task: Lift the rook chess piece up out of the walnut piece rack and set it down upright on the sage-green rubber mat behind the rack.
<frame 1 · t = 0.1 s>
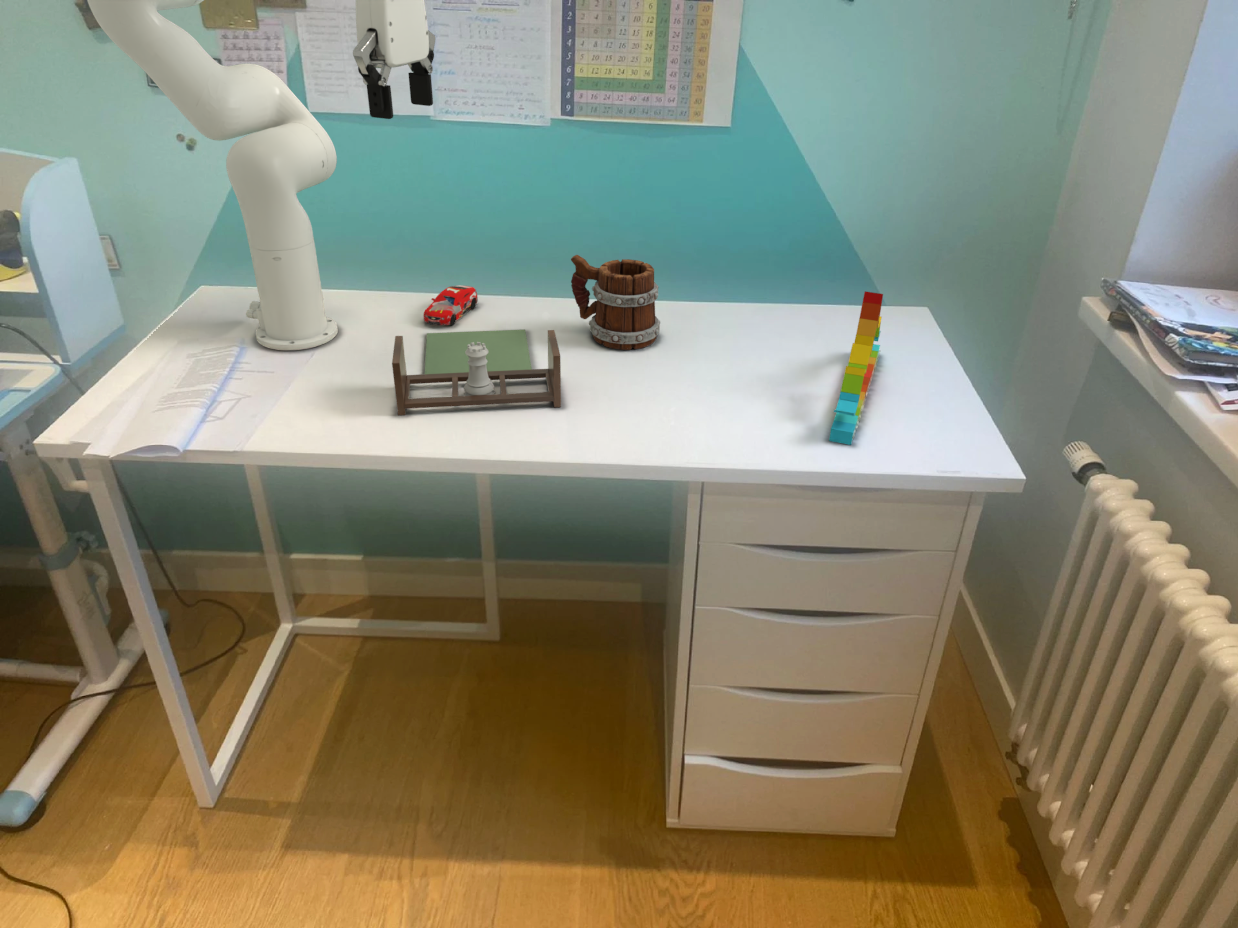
hand: (402, 111, 122), 37 cm above the table, tool pointing down, fingers open, 9 cm apart
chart: (856, 396, 136), on the table
race car: (451, 315, 158), on the table
mug: (615, 337, 152), on the table
rook chess piece: (479, 397, 132), resting in rack
rack: (479, 396, 132), on the table
mat: (477, 354, 144), on the table
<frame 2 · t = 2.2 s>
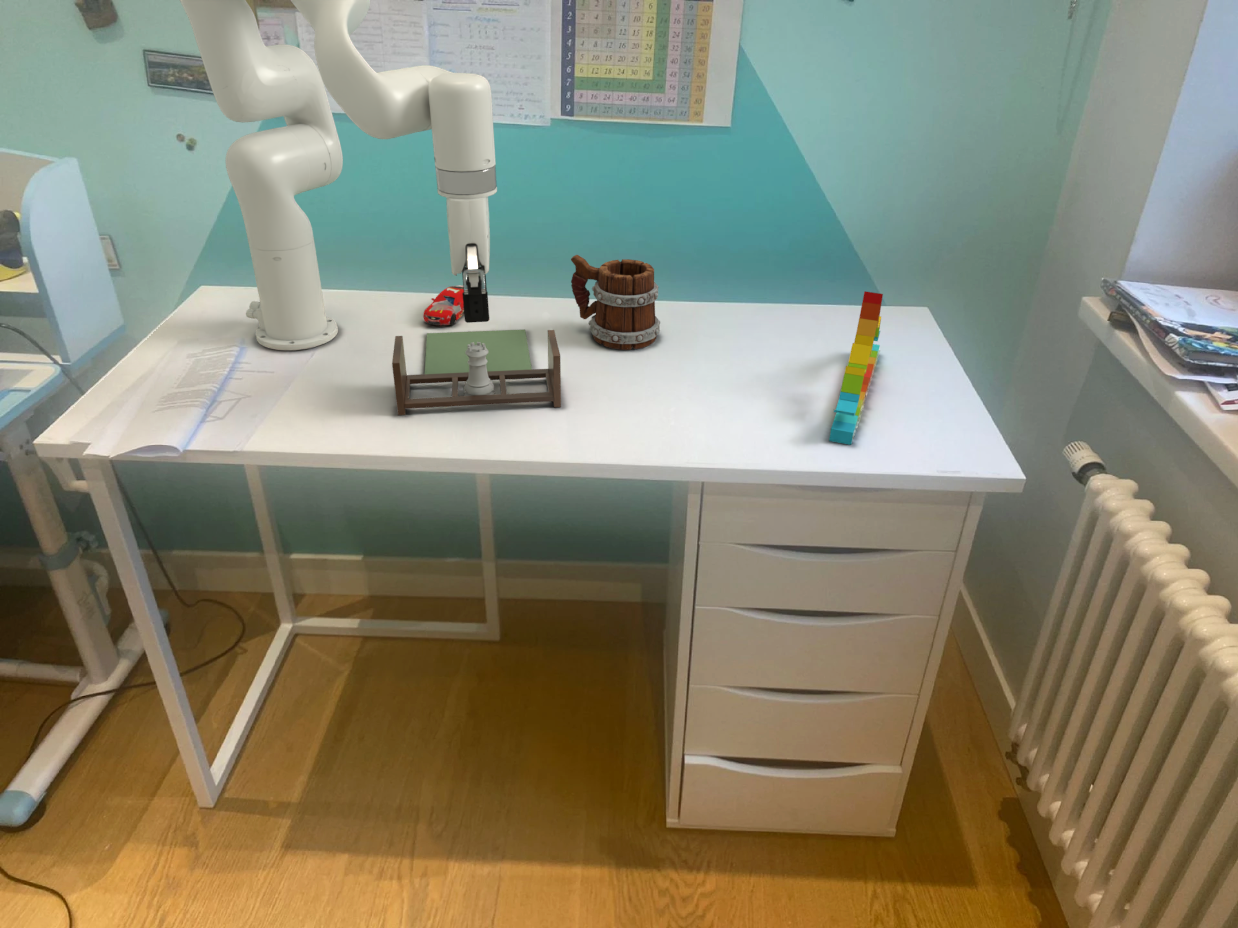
hand: (476, 307, 125), 14 cm above the table, tool pointing down, fingers open, 9 cm apart
nothing on the table moved.
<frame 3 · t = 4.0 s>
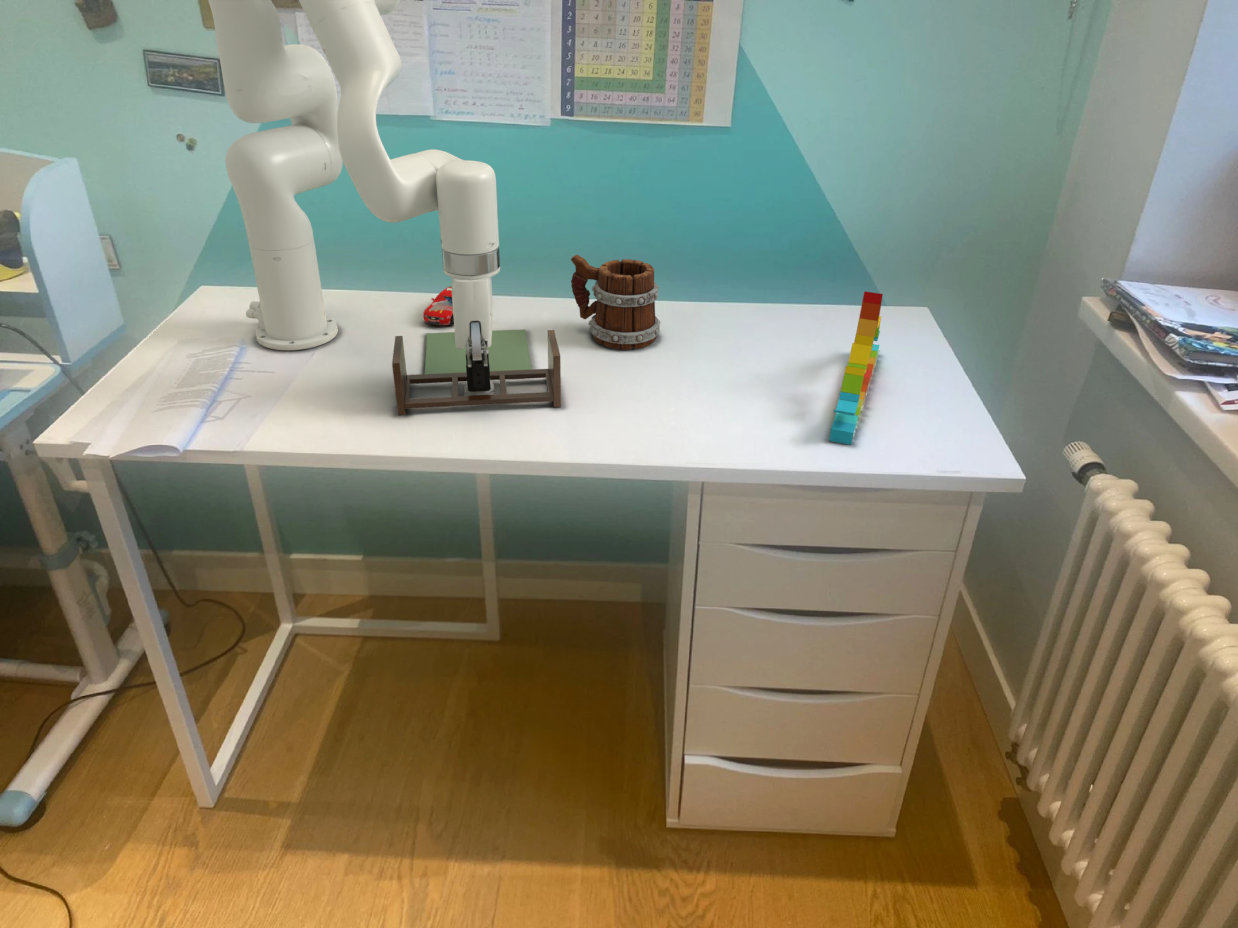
hand: (478, 382, 131), 2 cm above the table, tool pointing down, fingers closed on rook chess piece, 3 cm apart
rook chess piece: (479, 397, 132), resting in rack, touching gripper
everything else where it was.
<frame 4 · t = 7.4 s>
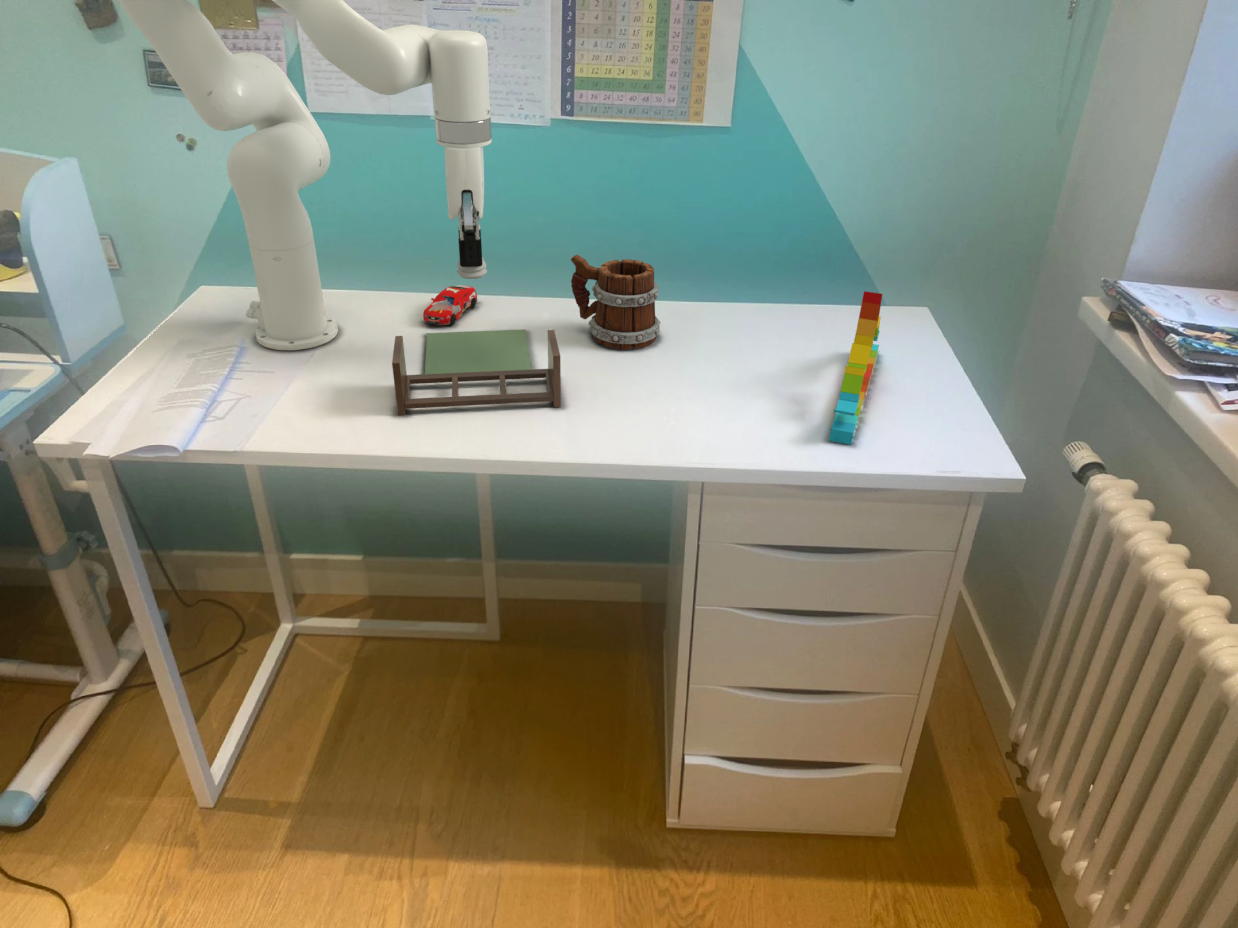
hand: (471, 260, 135), 16 cm above the table, tool pointing down, fingers closed on rook chess piece, 3 cm apart
rook chess piece: (472, 275, 136), point 13 cm above the table, touching gripper
everything else where it was.
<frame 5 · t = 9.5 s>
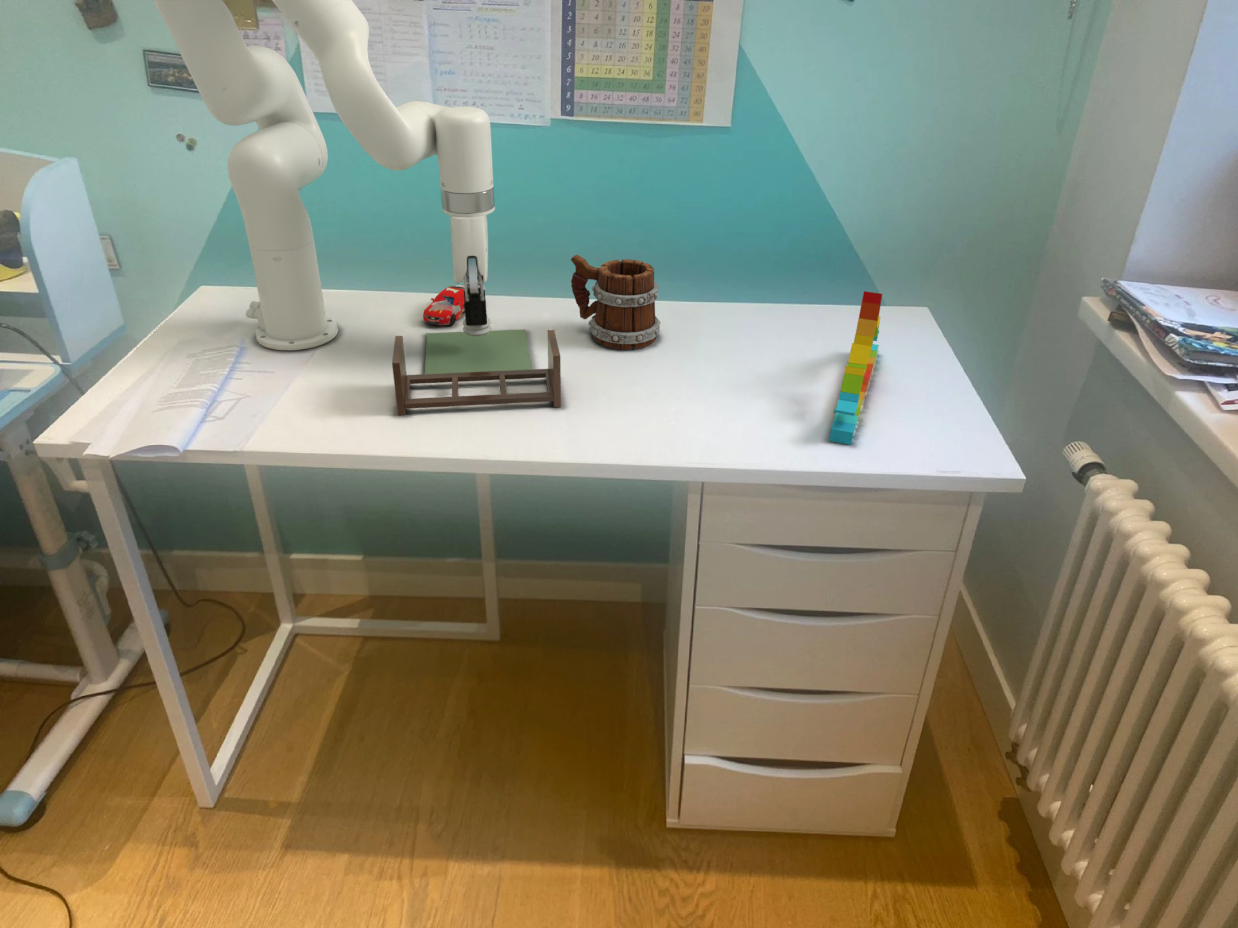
hand: (476, 318, 141), 6 cm above the table, tool pointing down, fingers closed on rook chess piece, 3 cm apart
rook chess piece: (477, 332, 143), point 4 cm above the table, touching gripper
everything else where it was.
when the fingers open (3 cm above the table, at t = 10.7 s): rook chess piece stays where it is, resting on mat.
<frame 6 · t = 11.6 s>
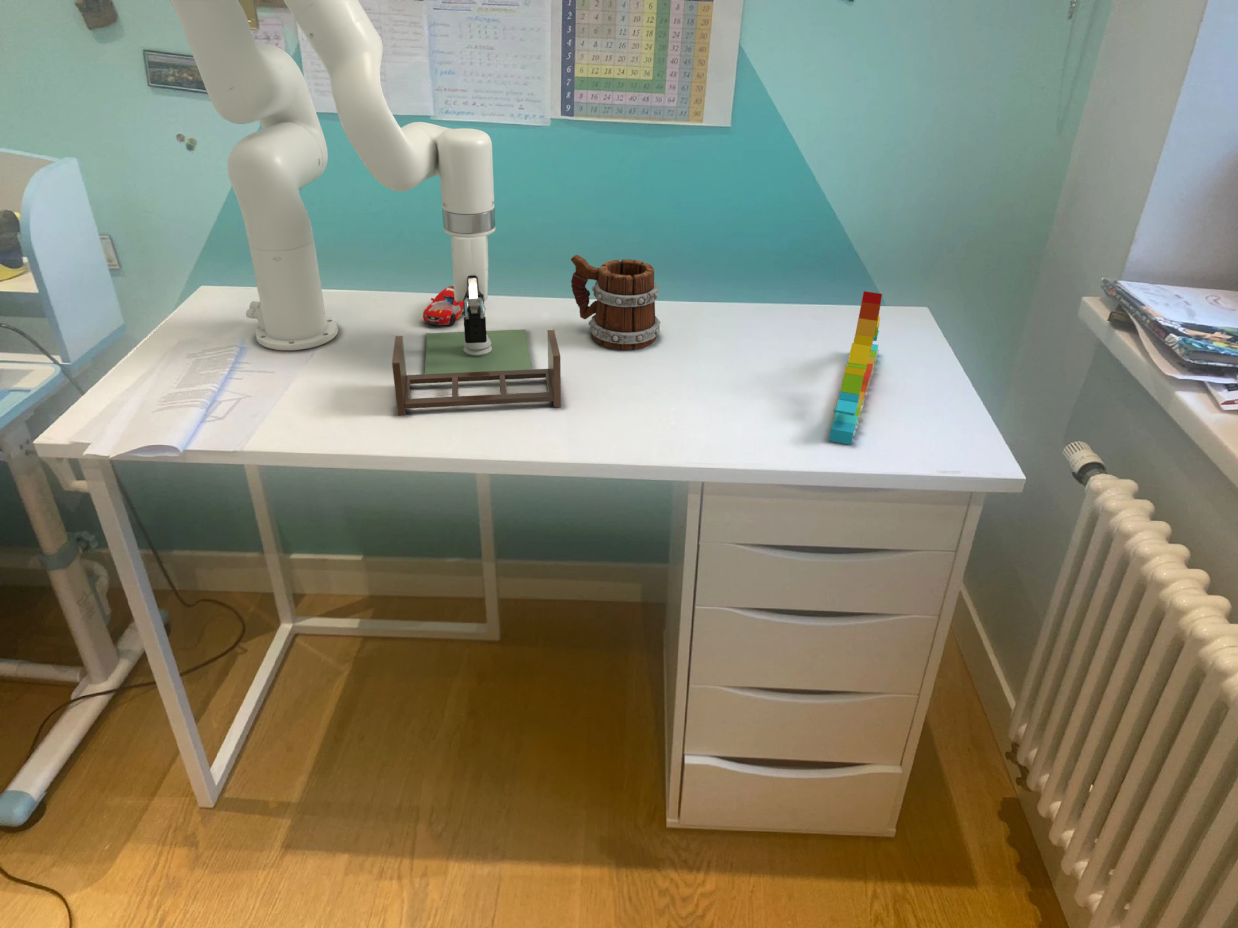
hand: (475, 329, 142), 4 cm above the table, tool pointing down, fingers open, 9 cm apart
rook chess piece: (478, 352, 144), resting on mat
everything else where it was.
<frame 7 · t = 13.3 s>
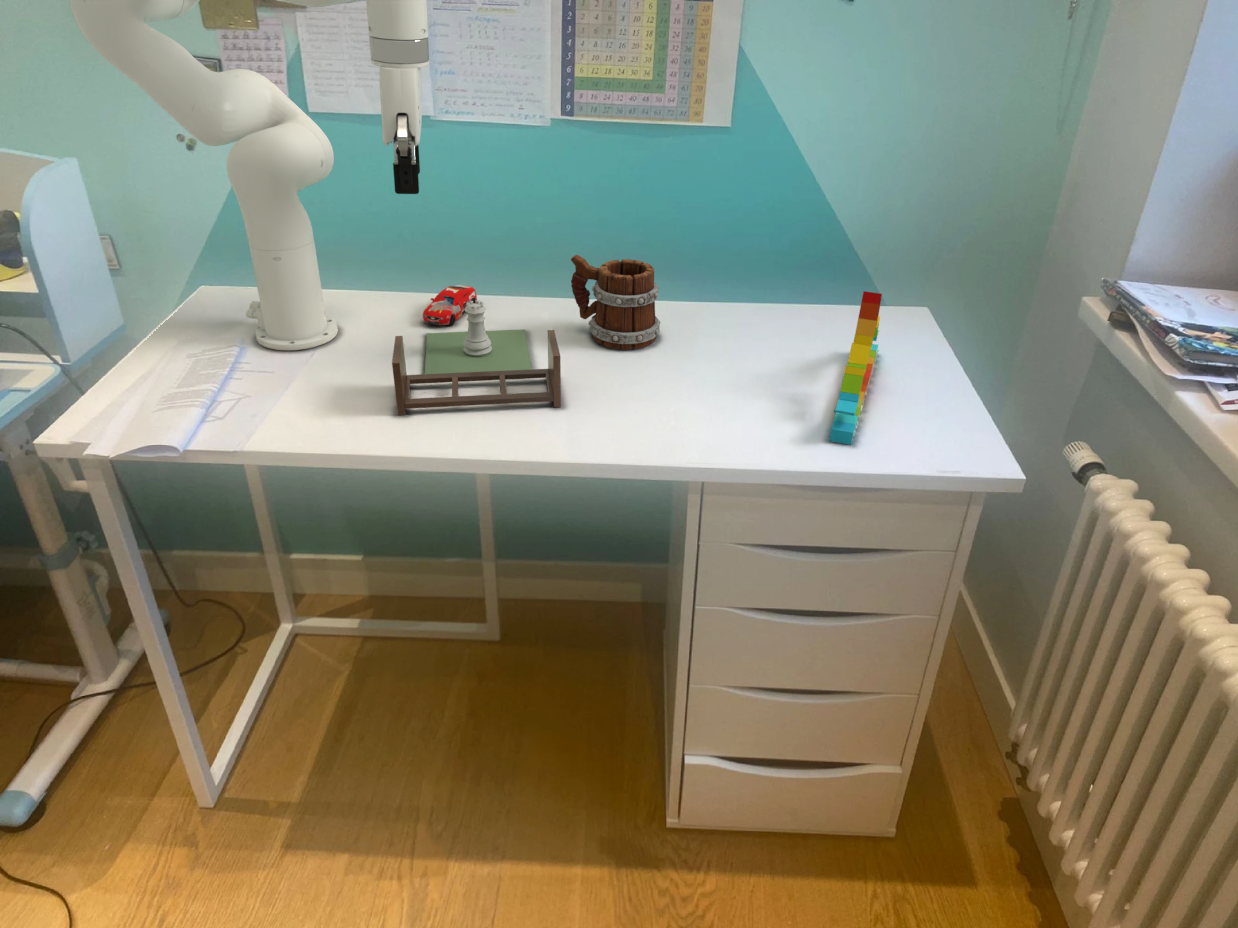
hand: (408, 183, 129), 27 cm above the table, tool pointing down, fingers open, 9 cm apart
nothing on the table moved.
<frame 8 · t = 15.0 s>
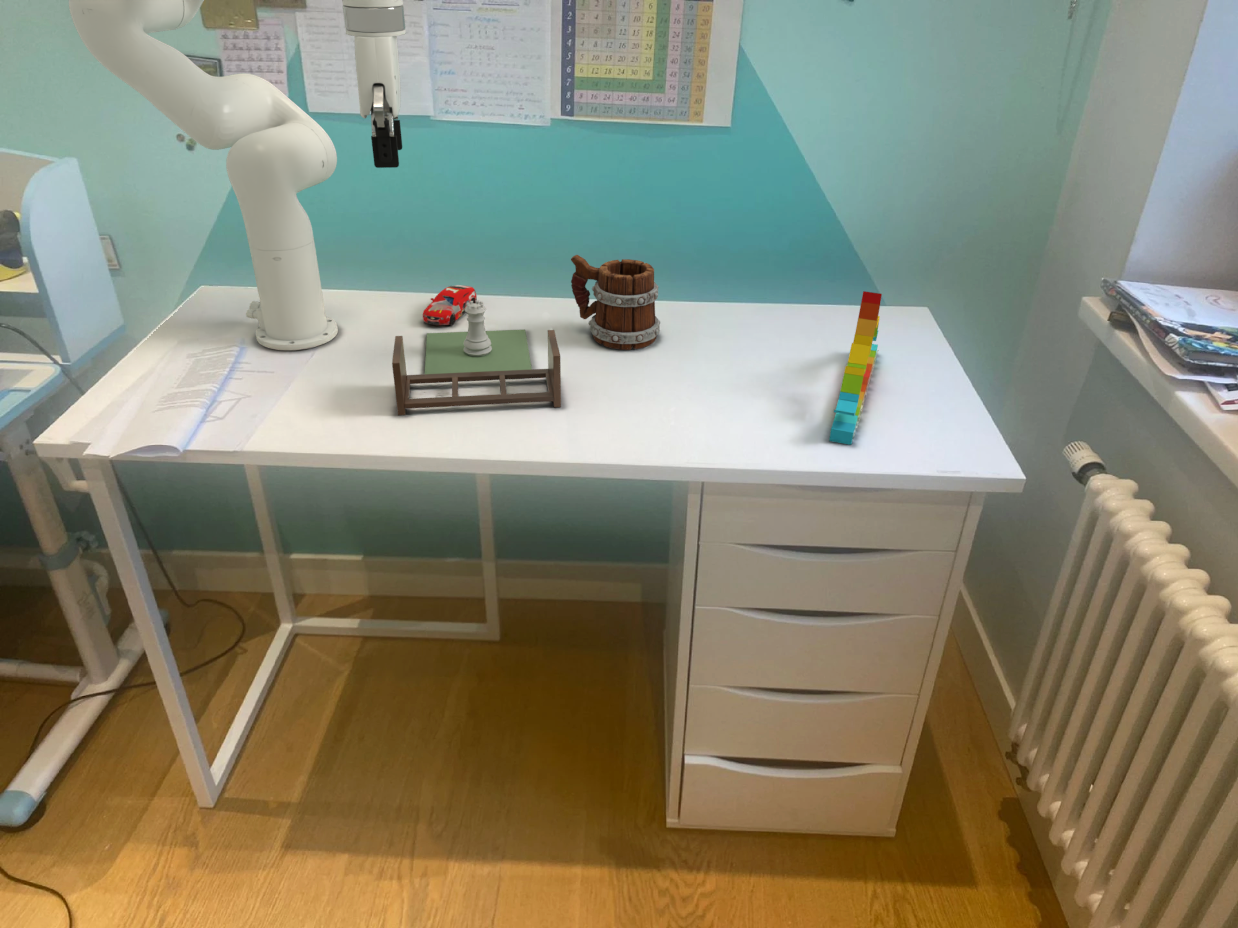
hand: (389, 158, 127), 30 cm above the table, tool pointing down, fingers open, 9 cm apart
nothing on the table moved.
at the end: rook chess piece inside the target area on the mat (0.1 cm from its centre), point 0.2 cm above the mat's base; rook chess piece tilted 0°; the gripper is holding nothing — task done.
